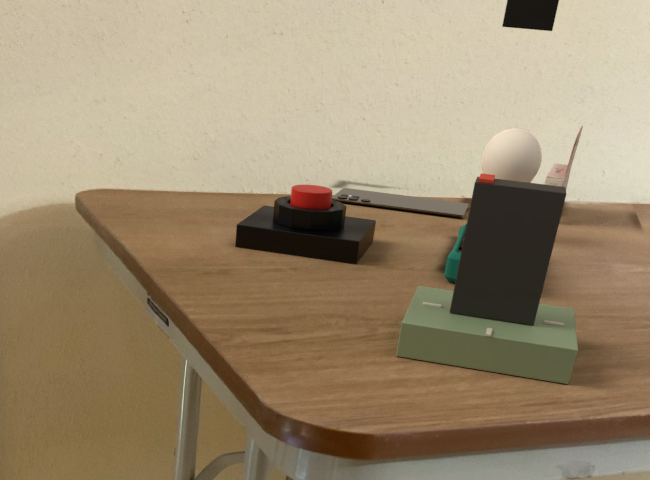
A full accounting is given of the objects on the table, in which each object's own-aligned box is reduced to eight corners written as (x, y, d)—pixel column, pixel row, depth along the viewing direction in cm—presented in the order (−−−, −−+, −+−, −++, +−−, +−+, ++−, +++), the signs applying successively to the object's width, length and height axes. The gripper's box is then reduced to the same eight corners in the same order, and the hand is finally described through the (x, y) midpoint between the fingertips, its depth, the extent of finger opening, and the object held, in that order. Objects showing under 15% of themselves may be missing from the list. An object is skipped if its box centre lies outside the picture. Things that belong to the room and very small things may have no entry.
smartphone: (463, 215, 104) (331, 195, 107) (462, 220, 104) (330, 200, 107) (468, 203, 110) (343, 185, 113) (467, 208, 110) (343, 189, 114)
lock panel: (565, 339, 69) (574, 305, 68) (568, 385, 61) (579, 348, 59) (413, 315, 71) (418, 283, 70) (395, 356, 63) (401, 320, 62)
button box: (373, 242, 92) (378, 201, 90) (356, 265, 83) (362, 221, 81) (262, 226, 94) (265, 187, 92) (235, 247, 86) (237, 204, 84)
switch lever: (533, 315, 65) (566, 183, 60) (533, 325, 63) (567, 189, 58) (452, 303, 66) (477, 172, 61) (449, 312, 64) (475, 178, 59)
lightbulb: (489, 245, 94) (513, 132, 88) (455, 231, 99) (476, 123, 93) (534, 243, 96) (560, 133, 90) (499, 229, 101) (522, 124, 95)
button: (334, 206, 88) (336, 187, 87) (325, 214, 85) (328, 194, 84) (295, 201, 89) (296, 182, 88) (285, 208, 86) (287, 189, 85)
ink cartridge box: (535, 221, 106) (555, 132, 101) (543, 205, 115) (563, 123, 110) (556, 224, 105) (578, 135, 100) (563, 208, 114) (583, 125, 109)
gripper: (552, -381, 54) (479, 19, 66) (557, -616, 34) (450, 24, 45) (681, -381, 53) (584, 28, 64) (768, -628, 32) (602, 38, 44)
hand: (528, 27), depth 55 cm, fingers open, 13 cm apart
